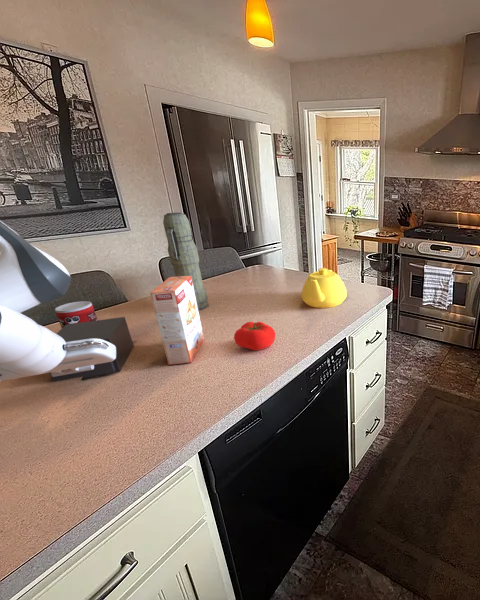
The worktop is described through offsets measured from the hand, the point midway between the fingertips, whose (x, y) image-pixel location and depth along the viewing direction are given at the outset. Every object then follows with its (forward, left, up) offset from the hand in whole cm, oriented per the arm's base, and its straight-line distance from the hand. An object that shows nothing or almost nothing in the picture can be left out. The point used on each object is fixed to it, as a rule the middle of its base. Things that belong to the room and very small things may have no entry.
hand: (70, 369), depth 74 cm
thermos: (+20, +48, -6) cm, 52 cm away
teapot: (+66, +33, -6) cm, 74 cm away
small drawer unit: (0, +13, -6) cm, 14 cm away
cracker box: (+21, +10, -6) cm, 24 cm away
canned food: (-8, +32, -6) cm, 33 cm away
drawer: (0, +9, -5) cm, 10 cm away
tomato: (+39, +6, -6) cm, 40 cm away
